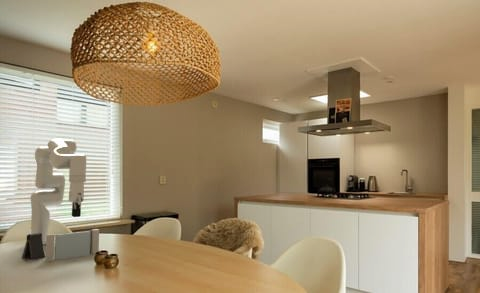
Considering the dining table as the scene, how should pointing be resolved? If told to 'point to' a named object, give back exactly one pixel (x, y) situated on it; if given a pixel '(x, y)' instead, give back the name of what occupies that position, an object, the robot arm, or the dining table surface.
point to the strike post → (50, 247)
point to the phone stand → (33, 247)
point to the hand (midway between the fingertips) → (76, 216)
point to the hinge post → (95, 241)
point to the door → (73, 244)
